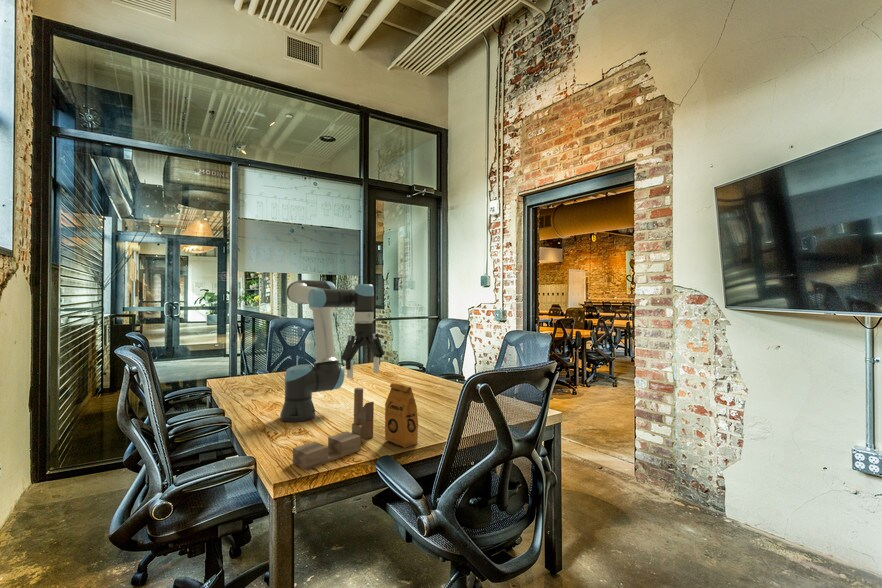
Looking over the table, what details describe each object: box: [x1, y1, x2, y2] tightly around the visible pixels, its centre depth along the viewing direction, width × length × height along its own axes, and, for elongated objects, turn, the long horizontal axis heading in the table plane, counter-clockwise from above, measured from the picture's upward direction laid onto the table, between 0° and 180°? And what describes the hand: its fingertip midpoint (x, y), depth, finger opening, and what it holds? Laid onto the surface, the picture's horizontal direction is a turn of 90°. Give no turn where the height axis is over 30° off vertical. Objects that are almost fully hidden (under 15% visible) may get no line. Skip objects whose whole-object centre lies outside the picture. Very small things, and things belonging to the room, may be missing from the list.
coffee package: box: [384, 382, 419, 449], centre depth 153 cm, size 10×12×22 cm
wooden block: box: [351, 387, 375, 440], centre depth 161 cm, size 4×11×18 cm, turn 42°
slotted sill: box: [292, 431, 362, 471], centre depth 139 cm, size 8×22×5 cm, turn 141°
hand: (363, 375), depth 161 cm, fingers open, 13 cm apart
